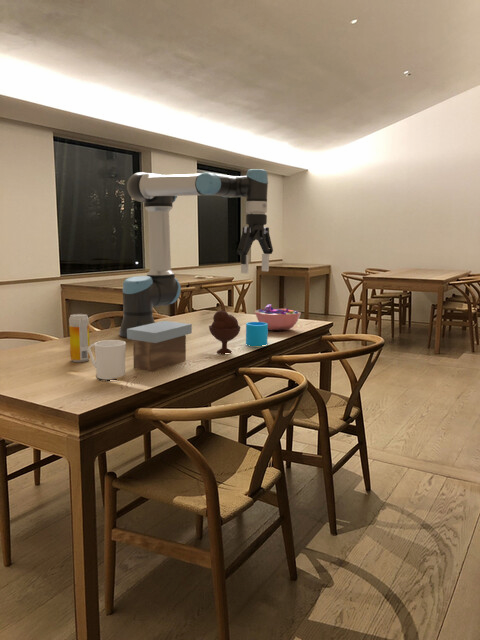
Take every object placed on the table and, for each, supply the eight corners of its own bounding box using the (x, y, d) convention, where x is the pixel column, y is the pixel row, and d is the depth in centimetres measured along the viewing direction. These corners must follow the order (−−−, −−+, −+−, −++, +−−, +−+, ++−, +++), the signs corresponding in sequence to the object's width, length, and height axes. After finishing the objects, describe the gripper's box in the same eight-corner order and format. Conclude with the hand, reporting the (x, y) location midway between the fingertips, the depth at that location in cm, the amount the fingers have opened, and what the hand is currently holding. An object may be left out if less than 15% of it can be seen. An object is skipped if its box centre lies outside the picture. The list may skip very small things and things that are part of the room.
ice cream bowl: (213, 357, 183) (213, 313, 180) (206, 349, 193) (206, 308, 191) (243, 355, 186) (243, 312, 183) (234, 348, 196) (235, 308, 194)
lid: (127, 341, 162) (126, 328, 162) (164, 332, 178) (164, 320, 177) (155, 346, 157) (155, 333, 156) (191, 336, 172) (191, 324, 171)
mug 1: (129, 373, 161) (128, 340, 159) (123, 382, 152) (122, 346, 150) (92, 373, 160) (91, 339, 159) (84, 381, 152) (83, 346, 150)
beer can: (82, 357, 180) (81, 313, 177) (93, 360, 176) (92, 315, 173) (66, 360, 175) (65, 315, 173) (77, 363, 171) (76, 317, 169)
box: (133, 371, 163) (133, 339, 162) (168, 360, 178) (168, 330, 176) (151, 374, 160) (151, 342, 158) (185, 363, 174) (185, 332, 173)
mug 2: (260, 348, 198) (260, 326, 196) (241, 345, 202) (242, 324, 201) (276, 342, 208) (276, 321, 206) (257, 340, 212) (258, 319, 211)
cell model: (299, 335, 223) (300, 308, 221) (251, 332, 226) (252, 306, 224) (301, 327, 240) (302, 302, 238) (256, 325, 243) (257, 301, 241)
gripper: (245, 212, 182) (244, 275, 186) (283, 214, 202) (281, 270, 206) (227, 212, 186) (226, 273, 190) (266, 214, 206) (264, 269, 210)
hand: (255, 272), depth 198 cm, fingers open, 13 cm apart
